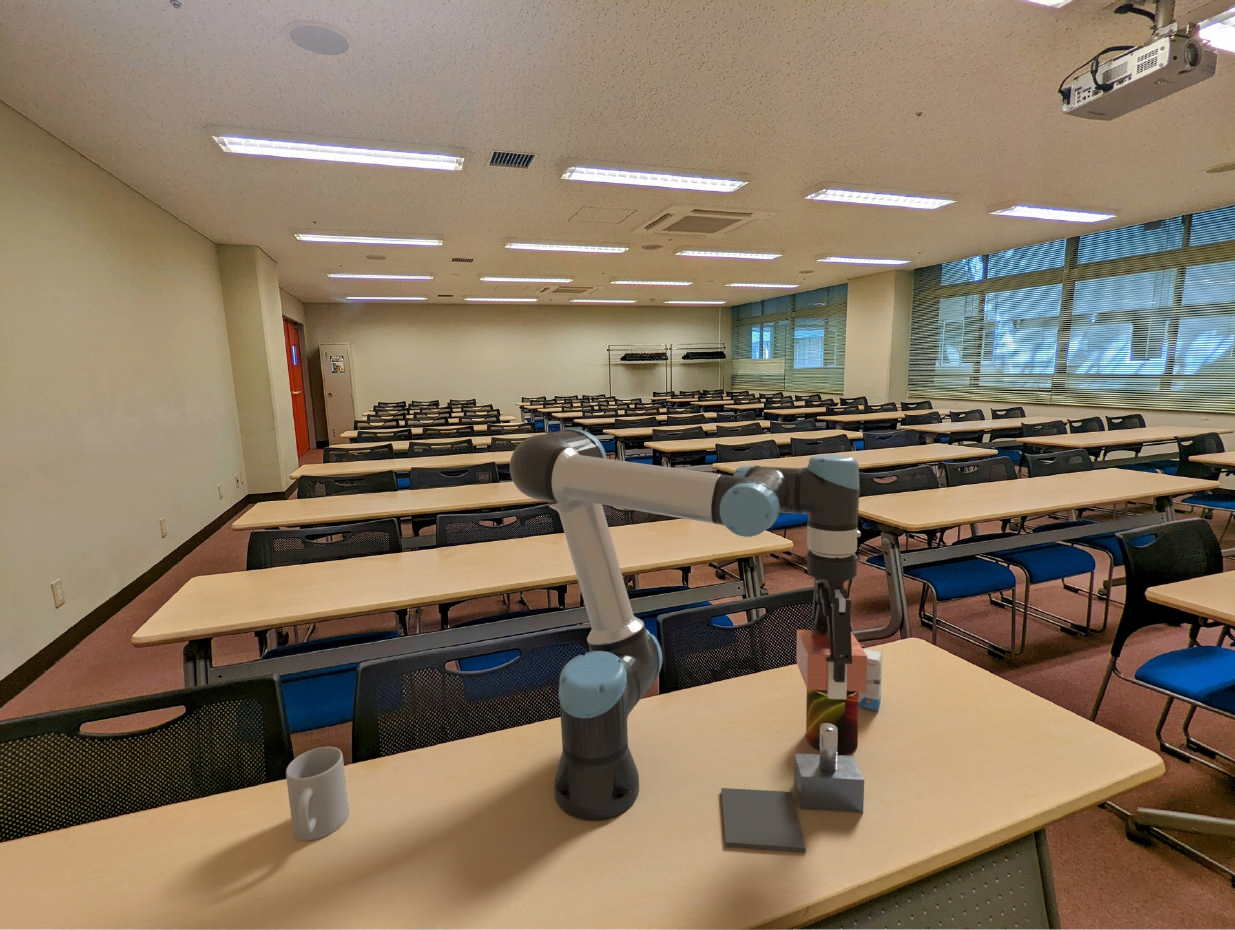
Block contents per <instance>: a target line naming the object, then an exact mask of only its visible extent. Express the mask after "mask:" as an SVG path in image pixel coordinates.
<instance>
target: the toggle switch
mask: <svg viewBox="0 0 1235 930" xmlns="http://www.w3.org/2000/svg"><path fill="white" fill-rule="evenodd" d="M837 740H838V729H837V727H836V726H835V725H833V724H829V723H823V724H821V725H820V751H819V754H818V753H817V754H816V753H796V752H795V753H794V775H793V776H794V777H793V778H794V779H793V780H794V781H793V782H794V783H793V784H794V788H795V791H796V796H797V799H798V803H799V807H800V810H808V811H809V810H811V811H827V812H843V813H846V812H847V813H861V814H863V813H864V804H865V803H864V800H865V799H864V797H865V779H864V776H863V774H862V771H861V770H860V767H859V765H858V763H857V761H856V758H855V756H854V755H844V756H841V755H837Z"/></svg>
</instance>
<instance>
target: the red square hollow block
mask: <svg viewBox="0 0 1235 930" xmlns="http://www.w3.org/2000/svg"><path fill="white" fill-rule="evenodd" d="M851 647H852V664H847V691H863V692H866V679H867V655H866V653H865V652H864V650H863V649H864V648H863V647H862V646H861V644H860V642H859V641H858V640H857V638H856V637H855V635H854V634H853V631H851ZM826 658H830V647H829V636H828V630H815V629H796V664H797V666H798V669H799V673H800V675H801V678H802V680H803V683H804V685H805V687H806V691H807V690H828V662H826Z"/></svg>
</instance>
